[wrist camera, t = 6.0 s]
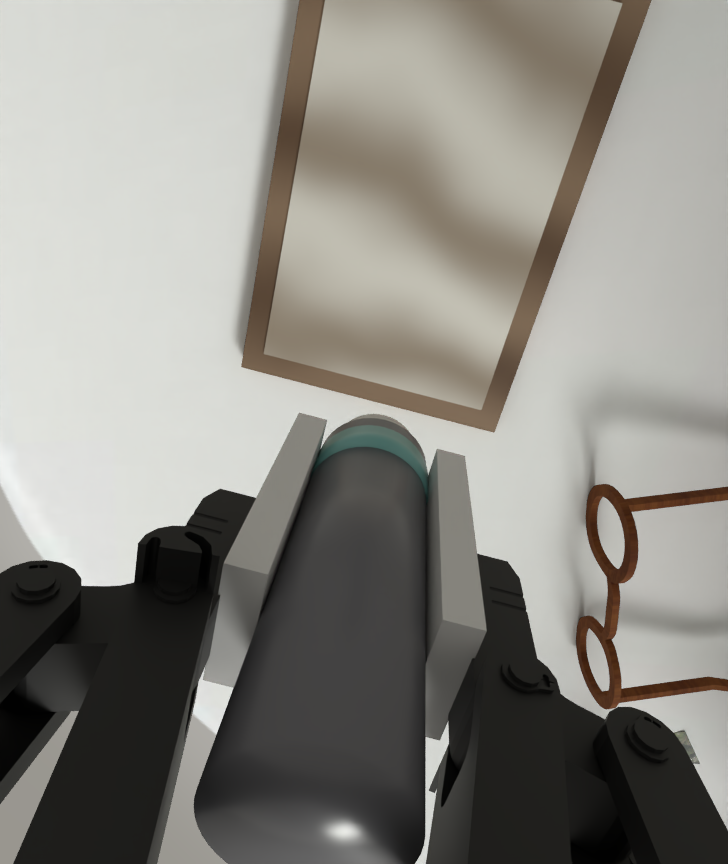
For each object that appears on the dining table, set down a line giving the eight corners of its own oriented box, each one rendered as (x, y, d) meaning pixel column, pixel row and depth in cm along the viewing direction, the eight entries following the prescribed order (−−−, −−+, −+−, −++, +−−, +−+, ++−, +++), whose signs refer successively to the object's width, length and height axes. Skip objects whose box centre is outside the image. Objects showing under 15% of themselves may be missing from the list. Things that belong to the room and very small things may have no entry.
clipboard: (492, 426, 31) (496, 442, 29) (245, 362, 31) (234, 374, 29) (663, -47, 23) (683, -65, 21) (326, -137, 23) (317, -163, 21)
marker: (411, 509, 18) (393, 919, 8) (312, 483, 18) (177, 866, 8) (441, 418, 17) (460, 778, 7) (334, 390, 17) (206, 712, 7)
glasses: (587, 466, 32) (614, 517, 27) (857, 459, 30) (933, 512, 26) (572, 658, 37) (592, 727, 33) (802, 660, 36) (857, 734, 31)
